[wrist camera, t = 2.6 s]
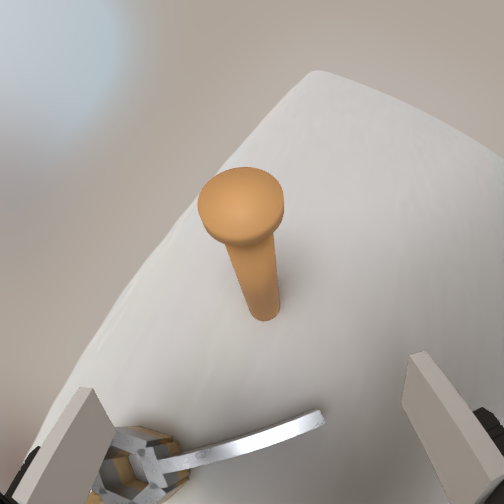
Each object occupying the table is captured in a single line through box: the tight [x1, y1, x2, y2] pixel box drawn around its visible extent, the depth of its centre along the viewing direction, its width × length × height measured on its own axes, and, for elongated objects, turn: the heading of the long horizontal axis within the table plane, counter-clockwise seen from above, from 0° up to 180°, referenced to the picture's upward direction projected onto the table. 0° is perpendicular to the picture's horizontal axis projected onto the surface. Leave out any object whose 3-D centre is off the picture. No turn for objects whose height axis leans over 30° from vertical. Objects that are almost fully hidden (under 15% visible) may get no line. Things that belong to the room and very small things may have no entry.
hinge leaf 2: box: [91, 409, 326, 504], centre depth 22 cm, size 20×8×6 cm, turn 110°
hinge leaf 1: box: [85, 426, 190, 504], centre depth 19 cm, size 8×21×6 cm, turn 140°
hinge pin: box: [198, 167, 284, 321], centre depth 23 cm, size 4×4×17 cm
